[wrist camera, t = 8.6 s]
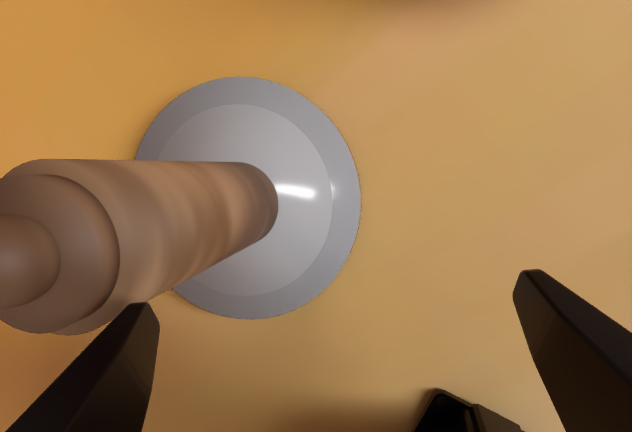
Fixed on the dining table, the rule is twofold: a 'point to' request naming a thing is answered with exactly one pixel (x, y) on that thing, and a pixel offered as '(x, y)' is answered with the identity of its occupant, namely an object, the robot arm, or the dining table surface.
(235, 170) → the wooden pepper mill
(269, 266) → the plate
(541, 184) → the dining table surface
